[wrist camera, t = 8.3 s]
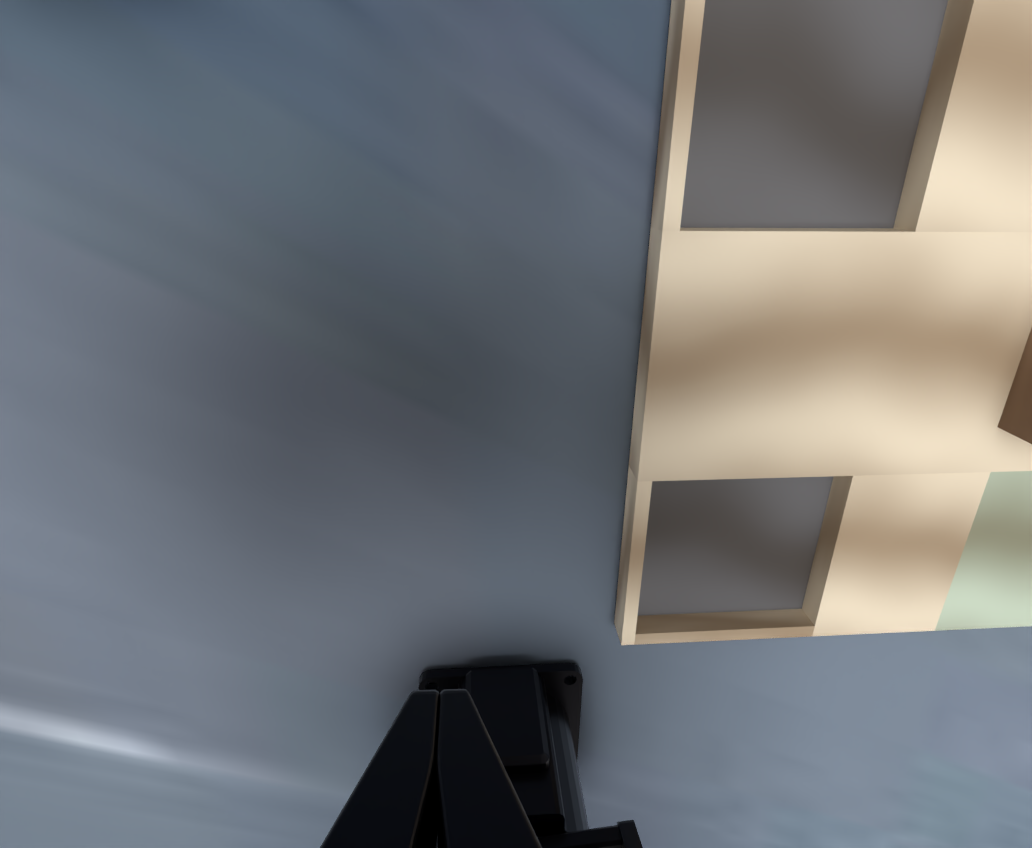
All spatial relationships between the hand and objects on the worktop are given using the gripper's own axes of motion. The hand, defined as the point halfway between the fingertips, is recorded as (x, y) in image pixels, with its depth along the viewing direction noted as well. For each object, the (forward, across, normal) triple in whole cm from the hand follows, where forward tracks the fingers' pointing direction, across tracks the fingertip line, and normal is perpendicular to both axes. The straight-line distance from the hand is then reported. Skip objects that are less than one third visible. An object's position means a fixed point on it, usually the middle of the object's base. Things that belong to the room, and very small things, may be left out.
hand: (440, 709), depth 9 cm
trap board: (+12, -16, -2) cm, 20 cm away
